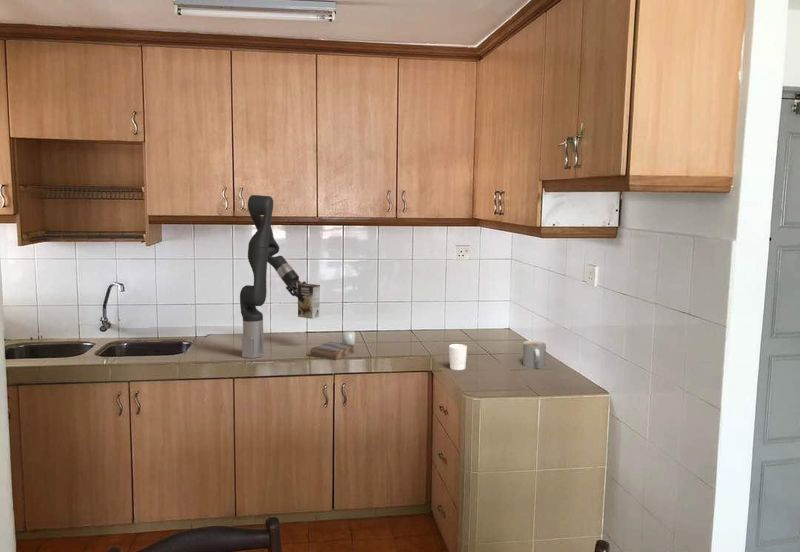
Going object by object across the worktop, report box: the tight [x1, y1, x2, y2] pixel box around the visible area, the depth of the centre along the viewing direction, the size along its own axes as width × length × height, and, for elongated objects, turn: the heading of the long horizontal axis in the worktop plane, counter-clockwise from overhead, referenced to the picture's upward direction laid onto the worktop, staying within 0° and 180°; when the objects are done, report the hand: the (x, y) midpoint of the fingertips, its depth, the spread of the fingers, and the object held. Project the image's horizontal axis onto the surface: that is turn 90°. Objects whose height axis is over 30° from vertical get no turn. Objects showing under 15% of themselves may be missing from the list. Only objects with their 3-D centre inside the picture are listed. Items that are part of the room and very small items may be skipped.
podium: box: [310, 341, 355, 361], centre depth 307 cm, size 16×14×4 cm
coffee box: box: [297, 283, 321, 320], centre depth 316 cm, size 9×6×16 cm
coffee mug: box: [522, 340, 547, 369], centre depth 290 cm, size 13×10×10 cm
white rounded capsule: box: [342, 330, 356, 350], centre depth 320 cm, size 6×6×8 cm
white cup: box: [448, 343, 468, 371], centre depth 285 cm, size 8×8×10 cm
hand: (307, 300), depth 317 cm, fingers closed on coffee box, 6 cm apart
